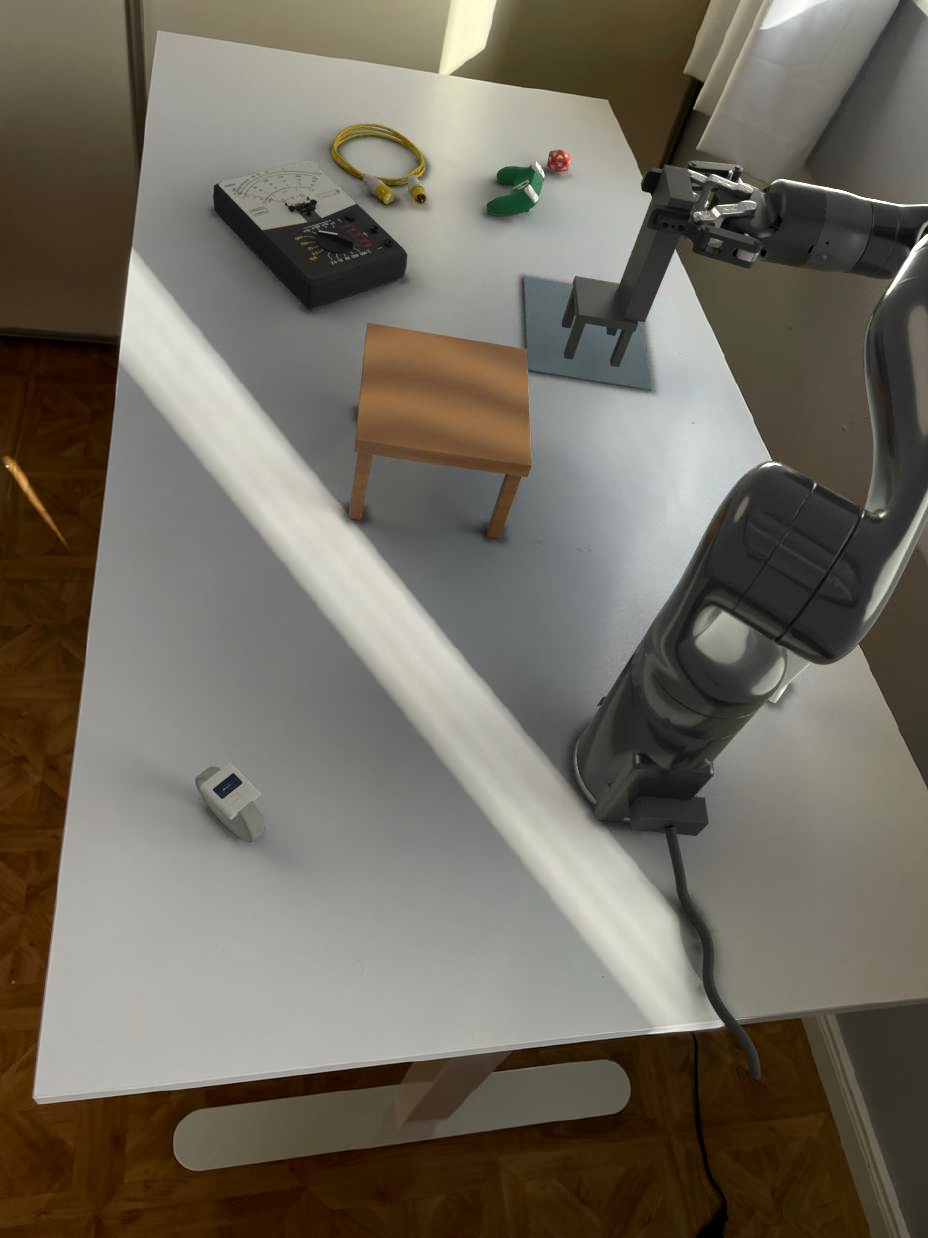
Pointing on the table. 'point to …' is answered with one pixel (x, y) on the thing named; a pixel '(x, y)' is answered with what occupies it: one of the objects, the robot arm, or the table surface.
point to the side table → (443, 409)
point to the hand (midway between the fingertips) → (647, 197)
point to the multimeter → (309, 232)
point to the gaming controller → (518, 190)
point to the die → (558, 160)
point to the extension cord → (375, 183)
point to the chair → (630, 275)
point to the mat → (593, 348)
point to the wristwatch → (232, 800)
